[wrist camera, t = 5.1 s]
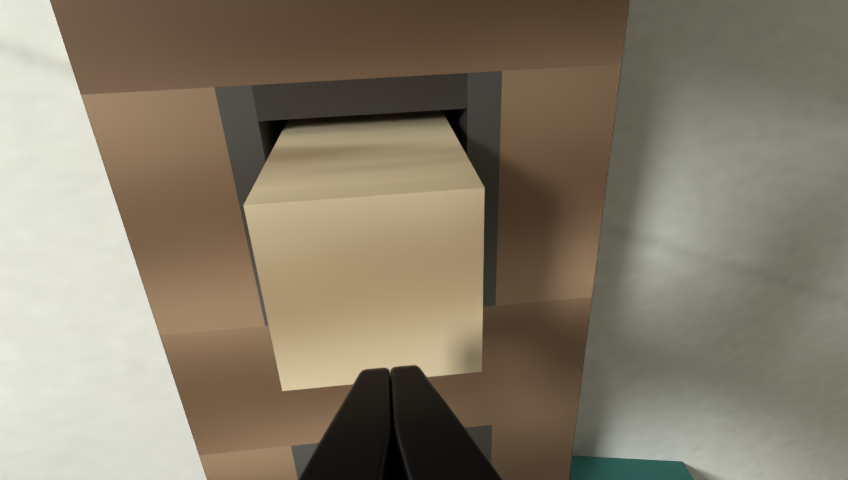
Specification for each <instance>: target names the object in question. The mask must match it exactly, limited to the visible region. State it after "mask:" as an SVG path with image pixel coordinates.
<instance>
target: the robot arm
mask: <svg viewBox="0 0 848 480" xmlns="http://www.w3.org/2000/svg"><path fill="white" fill-rule="evenodd" d="M390 377H391V378H390ZM298 480H503V478H502V477H501V476H500V474H499V473H498V472H497V470H496V469H495V468H494V466H493V465H492V464H491V462H490V461H489V460H488V458H487V457H486V455H485V454H484V453H483V451H482V450H481V449H480V447H479V446H478V445H477V443H476V442H475V441H474V439H473V438H472V437H471V435H470V434H469V433H468V431H467V430H466V429H465V427H464V426H463V425H462V423H461V422H460V421H459V419H458V418H457V417H456V415H455V414H454V413H453V411H452V410H451V409H450V407H449V406H448V405H447V403H446V402H445V401H444V399H443V398H442V397H441V395H440V394H439V393H438V391H437V390H436V389H435V387H434V386H433V385H432V383H431V382H430V381H429V379H428V378H427V377H426V375H425V374H424V373H423V371H422V370H421V369H420V368H419V367H418V366H416V365H408V366H396V367H393V368H392V369H391V371H389V369H388V368H373V369H364V370H362V371H361V372H360V374H359V375H358V377H357V379H356V380H355V382H354V384H353V385H352V387H351V389H350V391H349V392H348V394H347V396H346V397H345V399H344V401H343V403H342V404H341V406H340V408H339V409H338V411H337V413H336V415H335V416H334V418H333V420H332V421H331V423H330V425H329V427H328V428H327V430H326V432H325V433H324V435H323V437H322V439H321V440H320V442H319V444H318V445H317V447H316V449H315V451H314V452H313V454H312V456H311V457H310V459H309V461H308V463H307V464H306V466H305V468H304V469H303V471H302V473H301V475H300V476H299V478H298Z"/></svg>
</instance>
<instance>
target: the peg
mask: <svg viewBox="0 0 848 480" xmlns="http://www.w3.org/2000/svg"><path fill="white" fill-rule="evenodd" d="M484 197H485V188H484V186H483V184H482V182H481V180H480V179H479V177H478V175H477V173H476V171H475V169H474V168H473V166H472V164H471V162H470V160H469V159H468V157H467V155H466V153H465V151H464V150H463V148H462V146H461V144H460V142H459V141H458V139H457V137H456V135H455V133H454V132H453V130H452V128H451V126H450V124H449V122H448V121H447V119H446V117H445V115H444V113H443V112H442V110H433V111H416V112H400V113H384V114H368V115H351V116H335V117H319V118H302V119H288V121H287V123H286V124H285V126H284V128H283V130H282V132H281V134H280V136H279V138H278V140H277V142H276V144H275V146H274V147H273V149H272V151H271V153H270V155H269V157H268V159H267V161H266V163H265V165H264V167H263V169H262V170H261V172H260V174H259V176H258V178H257V180H256V182H255V184H254V186H253V188H252V190H251V192H250V194H249V195H248V197H247V199H246V201H245V203H244V205H243V206H244V211H245V215H246V220H247V225H248V230H249V235H250V239H251V244H252V249H253V254H254V258H255V263H256V268H257V273H258V277H259V282H260V287H261V292H262V296H263V301H264V306H265V311H266V316H267V320H268V325H269V330H270V335H271V339H272V344H273V349H274V354H275V358H276V363H277V368H278V373H279V378H280V382H281V387H282V391H289V390H299V389H310V388H320V387H330V386H340V385H351V384H354V382H355V380H356V379H357V377H358V375H359V374H360V372H361V371H362V370H364V369H373V368H388V369H389V371H391V369H392V368H393V367H396V366H408V365H416V366H418V367H419V368H420V369H421V370H422V371H423V373H424V374H425V375H426V377H433V376H443V375H453V374H464V373H474V372H482V326H483V262H484ZM390 378H391V377H390Z"/></svg>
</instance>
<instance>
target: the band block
mask: <svg viewBox="0 0 848 480" xmlns="http://www.w3.org/2000/svg"><path fill="white" fill-rule="evenodd" d="M629 1H630V0H50V2H51V5H52V8H53V11H54V14H55V17H56V20H57V23H58V26H59V29H60V32H61V35H62V38H63V41H64V44H65V47H66V51H67V54H68V57H69V60H70V63H71V66H72V69H73V72H74V75H75V78H76V81H77V84H78V87H79V90H80V93H81V96H82V99H83V102H84V105H85V109H86V112H87V115H88V118H89V121H90V124H91V127H92V130H93V133H94V136H95V139H96V142H97V145H98V148H99V151H100V154H101V157H102V160H103V163H104V167H105V170H106V173H107V176H108V179H109V182H110V185H111V188H112V191H113V194H114V197H115V200H116V203H117V206H118V209H119V212H120V215H121V218H122V221H123V225H124V228H125V231H126V234H127V237H128V240H129V243H130V246H131V249H132V252H133V255H134V258H135V261H136V264H137V267H138V270H139V273H140V276H141V279H142V282H143V286H144V289H145V292H146V295H147V298H148V301H149V304H150V307H151V310H152V313H153V316H154V319H155V322H156V325H157V328H158V331H159V334H160V337H161V340H162V344H163V347H164V350H165V353H166V356H167V359H168V362H169V365H170V368H171V371H172V374H173V377H174V380H175V383H176V386H177V389H178V392H179V395H180V398H181V402H182V405H183V408H184V411H185V414H186V417H187V420H188V423H189V426H190V429H191V432H192V435H193V438H194V441H195V444H196V447H197V450H198V453H199V456H200V459H201V463H202V466H203V469H204V472H205V475H206V478H207V480H298V478H299V476H300V475H301V473H302V471H303V469H304V468H305V466H306V464H307V463H308V461H309V459H310V457H311V456H312V454H313V452H314V451H315V449H316V447H317V445H318V444H319V442H320V440H321V439H322V437H323V435H324V433H325V432H326V430H327V428H328V427H329V425H330V423H331V421H332V420H333V418H334V416H335V415H336V413H337V411H338V409H339V408H340V406H341V404H342V403H343V401H344V399H345V397H346V396H347V394H348V392H349V391H350V389H351V387H352V385H353V384H351V385H340V386H330V387H320V388H310V389H299V390H289V391H282V387H281V382H280V378H279V373H278V368H277V363H276V358H275V354H274V349H273V344H272V339H271V335H270V330H269V325H268V320H267V316H266V311H265V306H264V301H263V296H262V292H261V287H260V282H259V277H258V273H257V268H256V263H255V258H254V254H253V249H252V244H251V239H250V235H249V230H248V225H247V220H246V215H245V211H244V206H243V205H244V203H245V201H246V199H247V197H248V195H249V194H250V192H251V190H252V188H253V186H254V184H255V182H256V180H257V178H258V176H259V174H260V172H261V170H262V169H263V167H264V165H265V163H266V161H267V159H268V157H269V155H270V153H271V151H272V149H273V147H274V146H275V144H276V142H277V140H278V138H279V136H280V134H281V132H282V130H283V128H284V126H285V124H286V123H287V121H288V119H302V118H319V117H335V116H351V115H368V114H384V113H400V112H416V111H433V110H442V112H443V113H444V115H445V117H446V119H447V121H448V122H449V124H450V126H451V128H452V130H453V132H454V133H455V135H456V137H457V139H458V141H459V142H460V144H461V146H462V148H463V150H464V151H465V153H466V155H467V157H468V159H469V160H470V162H471V164H472V166H473V168H474V169H475V171H476V173H477V175H478V177H479V179H480V180H481V182H482V184H483V186H484V188H485V197H484V262H483V326H482V372H474V373H464V374H453V375H443V376H433V377H427V378H428V379H429V381H430V382H431V383H432V385H433V386H434V387H435V389H436V390H437V391H438V393H439V394H440V395H441V397H442V398H443V399H444V401H445V402H446V403H447V405H448V406H449V407H450V409H451V410H452V411H453V413H454V414H455V415H456V417H457V418H458V419H459V421H460V422H461V423H462V425H463V426H464V427H465V429H466V430H467V431H468V433H469V434H470V435H471V437H472V438H473V439H474V441H475V442H476V443H477V445H478V446H479V447H480V449H481V450H482V451H483V453H484V454H485V455H486V457H487V458H488V460H489V461H490V462H491V464H492V465H493V466H494V468H495V469H496V470H497V472H498V473H499V474H500V476H501V477H502V478H503V480H569V474H570V466H571V458H572V450H573V443H574V435H575V427H576V419H577V411H578V403H579V395H580V387H581V379H582V372H583V364H584V356H585V348H586V340H587V332H588V324H589V316H590V309H591V301H592V293H593V285H594V277H595V269H596V261H597V253H598V245H599V238H600V230H601V222H602V214H603V206H604V198H605V190H606V182H607V174H608V167H609V159H610V151H611V143H612V135H613V127H614V119H615V111H616V104H617V96H618V88H619V80H620V72H621V64H622V56H623V48H624V40H625V33H626V25H627V17H628V9H629Z"/></svg>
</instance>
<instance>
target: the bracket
mask: <svg viewBox="0 0 848 480" xmlns="http://www.w3.org/2000/svg"><path fill="white" fill-rule="evenodd" d="M569 480H693V478H692V477H691V475H690V473H689V472H688V470H687V469H686V467H685V466H684V464H683V463H682V462H677V461H659V460H640V459H621V458H603V457H584V456H572V458H571V466H570V474H569Z"/></svg>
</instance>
